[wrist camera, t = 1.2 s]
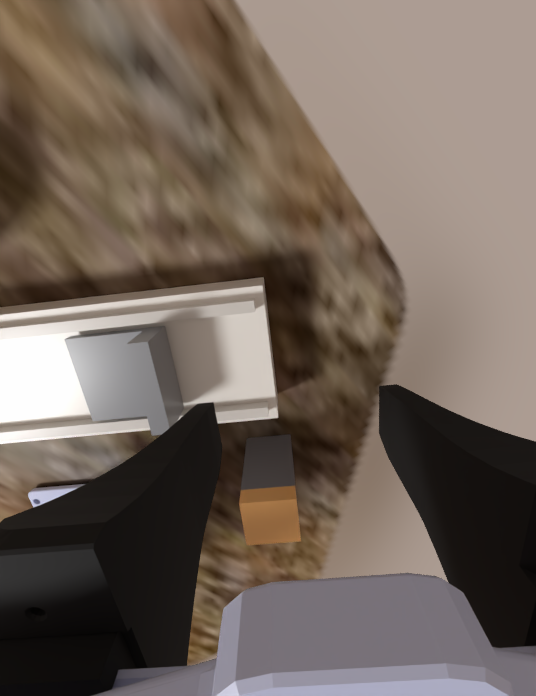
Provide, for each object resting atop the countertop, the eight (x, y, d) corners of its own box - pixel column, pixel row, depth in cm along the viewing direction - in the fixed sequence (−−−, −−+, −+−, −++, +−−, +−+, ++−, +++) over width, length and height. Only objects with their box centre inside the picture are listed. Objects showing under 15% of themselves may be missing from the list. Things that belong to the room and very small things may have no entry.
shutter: (164, 325, 17) (147, 341, 15) (184, 407, 19) (171, 433, 16) (70, 335, 17) (38, 353, 15) (98, 415, 19) (72, 443, 17)
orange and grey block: (294, 469, 25) (300, 541, 19) (252, 473, 25) (246, 545, 19) (290, 434, 23) (296, 499, 18) (246, 438, 24) (239, 503, 18)
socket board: (263, 277, 19) (262, 287, 16) (277, 394, 22) (278, 424, 19) (-50, 312, 20) (-115, 329, 17) (0, 420, 23) (-47, 454, 20)
